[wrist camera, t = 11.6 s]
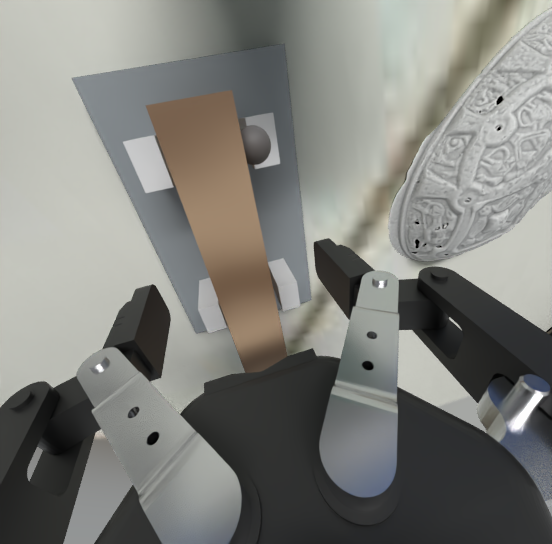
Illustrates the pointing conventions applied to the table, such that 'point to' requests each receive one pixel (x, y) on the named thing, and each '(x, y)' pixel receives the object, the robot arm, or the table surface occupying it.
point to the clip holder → (160, 185)
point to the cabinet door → (224, 214)
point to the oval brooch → (483, 155)
